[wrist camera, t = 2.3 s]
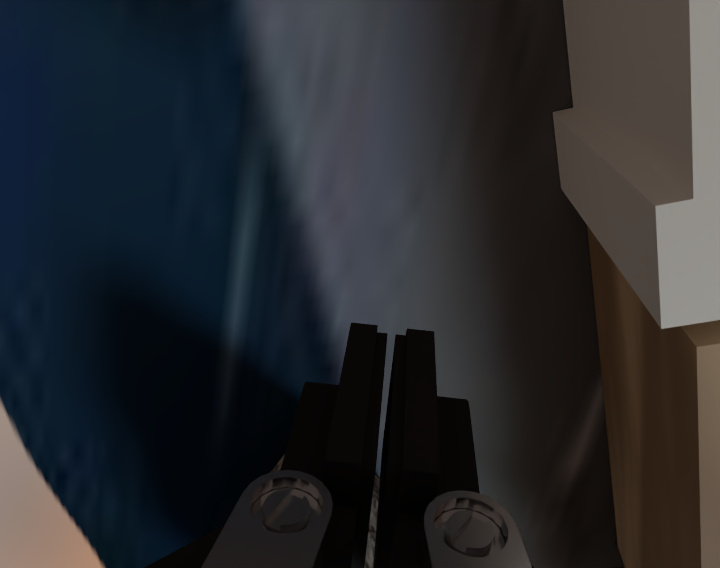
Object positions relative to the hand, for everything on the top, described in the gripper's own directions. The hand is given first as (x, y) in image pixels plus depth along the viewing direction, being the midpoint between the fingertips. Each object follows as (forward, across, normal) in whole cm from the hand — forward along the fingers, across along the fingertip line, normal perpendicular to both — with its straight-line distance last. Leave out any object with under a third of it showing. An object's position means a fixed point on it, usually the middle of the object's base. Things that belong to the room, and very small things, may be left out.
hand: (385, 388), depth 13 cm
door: (+9, -9, +5) cm, 14 cm away
